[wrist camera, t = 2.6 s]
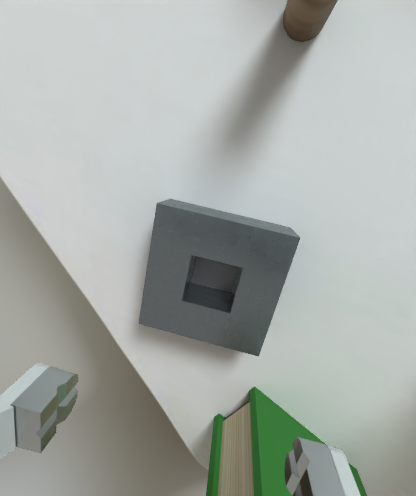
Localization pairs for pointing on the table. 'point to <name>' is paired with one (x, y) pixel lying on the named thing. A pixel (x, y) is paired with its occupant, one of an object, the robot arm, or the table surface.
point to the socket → (208, 299)
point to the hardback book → (255, 450)
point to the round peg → (306, 17)
